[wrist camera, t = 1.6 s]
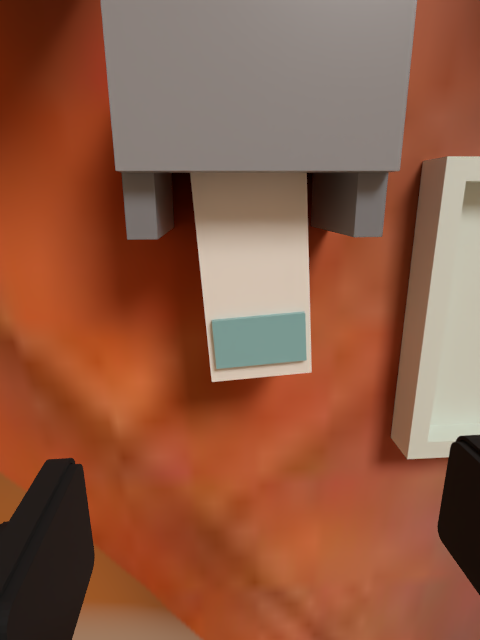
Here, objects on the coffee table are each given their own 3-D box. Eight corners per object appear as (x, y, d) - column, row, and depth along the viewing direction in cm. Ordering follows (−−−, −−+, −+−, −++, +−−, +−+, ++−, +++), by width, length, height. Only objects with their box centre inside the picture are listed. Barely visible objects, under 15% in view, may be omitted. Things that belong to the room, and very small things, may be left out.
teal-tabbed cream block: (280, 110, 22) (306, 76, 16) (289, 334, 26) (313, 374, 20) (189, 116, 22) (180, 84, 16) (211, 341, 26) (211, 384, 20)
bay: (340, 60, 21) (419, -27, 13) (330, 226, 24) (392, 239, 16) (142, 56, 21) (97, -37, 12) (153, 227, 23) (121, 242, 15)
